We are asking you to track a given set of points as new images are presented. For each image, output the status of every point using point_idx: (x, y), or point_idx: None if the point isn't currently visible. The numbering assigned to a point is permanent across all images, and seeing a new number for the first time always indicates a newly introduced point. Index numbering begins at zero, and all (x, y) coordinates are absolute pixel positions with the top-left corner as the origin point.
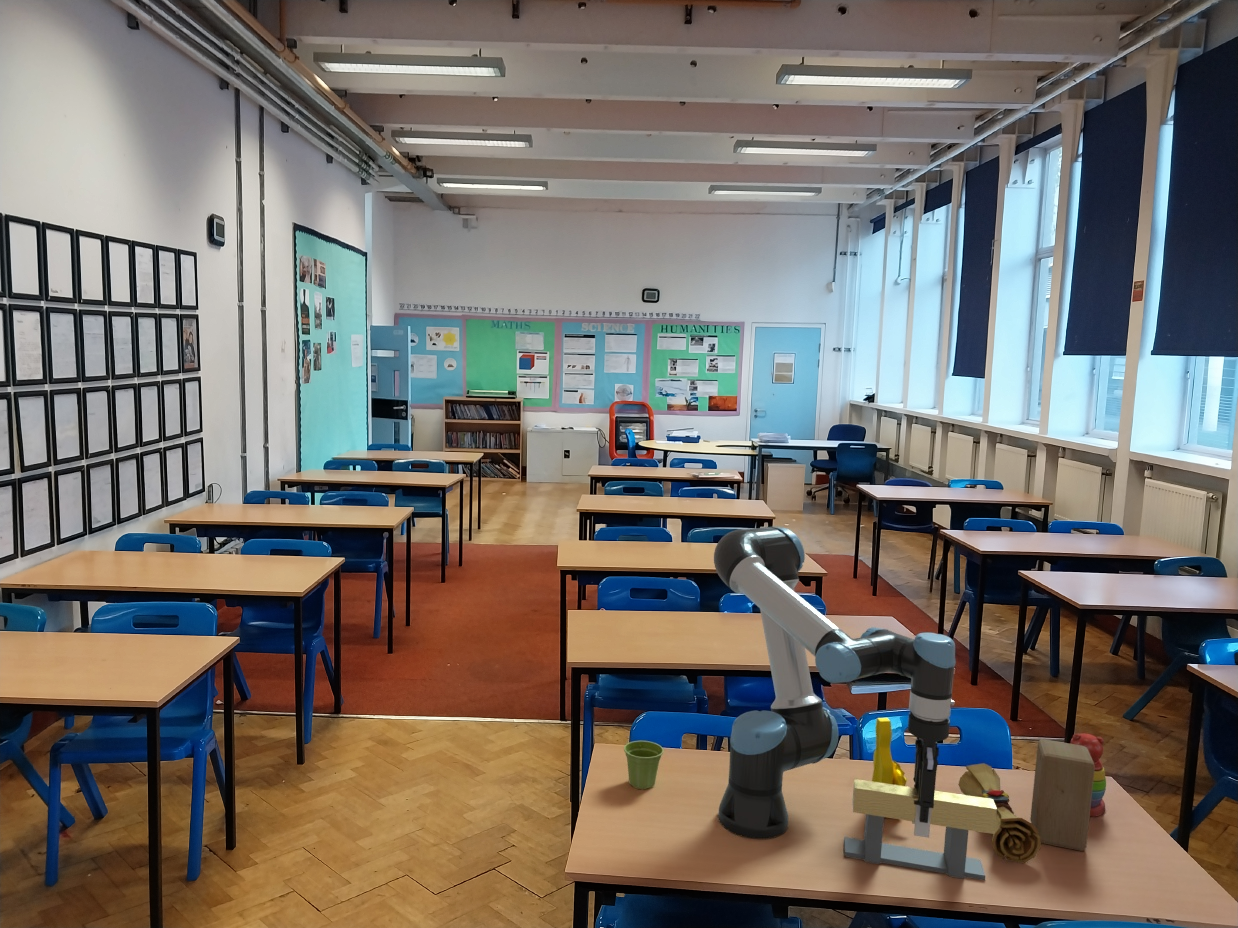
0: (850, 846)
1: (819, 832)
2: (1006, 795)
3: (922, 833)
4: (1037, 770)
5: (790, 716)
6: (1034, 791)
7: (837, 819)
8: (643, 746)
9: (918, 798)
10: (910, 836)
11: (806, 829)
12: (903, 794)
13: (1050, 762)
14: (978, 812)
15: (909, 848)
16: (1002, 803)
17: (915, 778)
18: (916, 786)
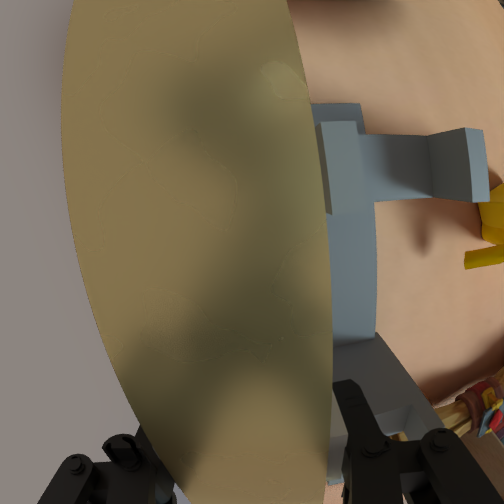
0: (319, 118)
1: (363, 54)
2: (487, 431)
3: None
4: (501, 473)
5: None
6: (490, 447)
7: (436, 99)
8: None
9: (129, 477)
10: (432, 262)
11: (359, 30)
12: (146, 410)
13: None
14: None
15: (372, 267)
16: (475, 428)
17: (394, 488)
18: (350, 465)
